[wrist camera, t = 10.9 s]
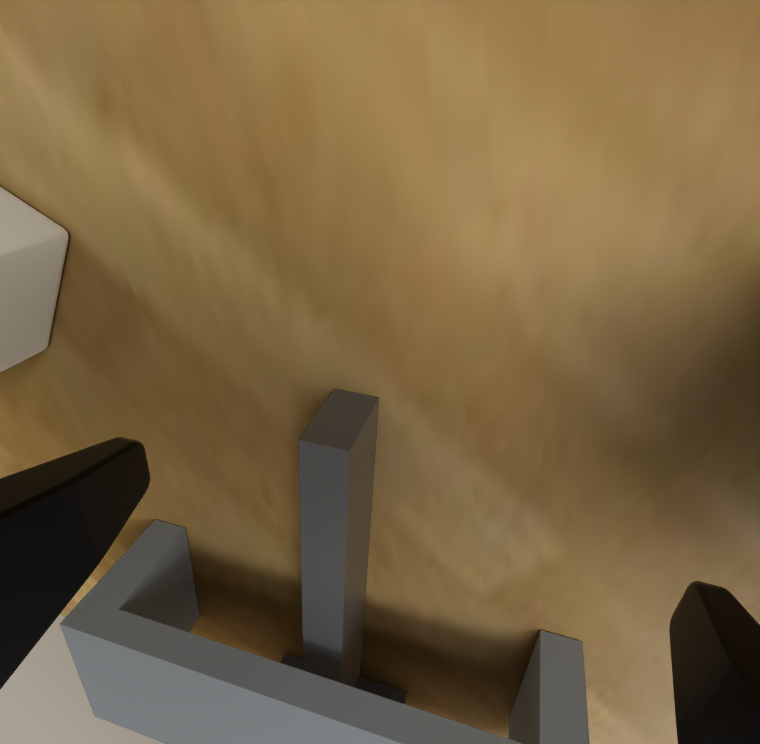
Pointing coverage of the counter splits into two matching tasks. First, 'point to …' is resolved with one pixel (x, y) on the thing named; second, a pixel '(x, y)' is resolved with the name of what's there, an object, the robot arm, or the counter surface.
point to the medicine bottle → (27, 278)
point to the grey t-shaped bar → (337, 538)
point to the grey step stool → (267, 673)
